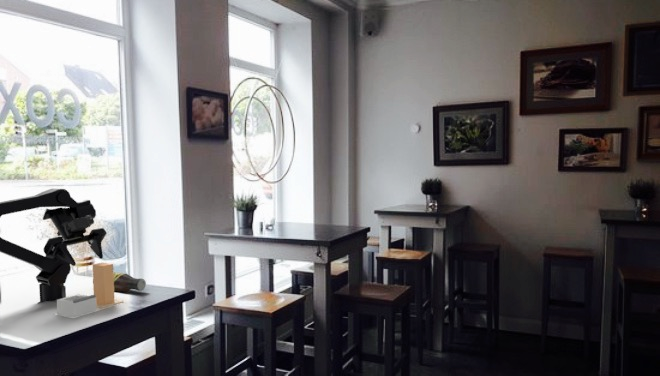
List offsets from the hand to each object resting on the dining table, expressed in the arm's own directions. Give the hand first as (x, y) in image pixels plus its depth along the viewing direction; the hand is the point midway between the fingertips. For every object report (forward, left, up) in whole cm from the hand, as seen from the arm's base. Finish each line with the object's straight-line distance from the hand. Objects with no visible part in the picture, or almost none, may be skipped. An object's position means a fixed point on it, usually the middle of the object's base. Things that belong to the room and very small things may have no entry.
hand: (88, 261), depth 156 cm
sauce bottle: (-5, +19, -10) cm, 22 cm away
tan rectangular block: (+6, -5, -12) cm, 14 cm away
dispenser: (+4, -8, -14) cm, 16 cm away
